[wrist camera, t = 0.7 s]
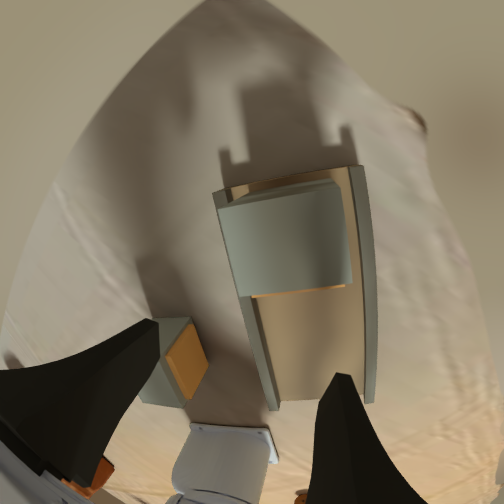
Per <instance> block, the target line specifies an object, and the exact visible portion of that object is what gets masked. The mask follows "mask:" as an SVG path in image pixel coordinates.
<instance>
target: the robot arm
mask: <svg viewBox="0 0 504 504" xmlns="http://www.w3.org/2000/svg"><path fill="white" fill-rule="evenodd" d="M159 359H160V340H159V323H158V322H155V321H153V320H150V319H147V318H145V319H143V320H141V321H140V322H138V323H136V324H134V325H132V326H131V327H129V328H127V329H125V330H124V331H122V332H120V333H118V334H117V335H115V336H113V337H111V338H109V339H107V340H105V341H103V342H102V343H100V344H97V345H95V346H93V347H91V348H89V349H87V350H85V351H83V352H80V353H78V354H75V355H73V356H70V357H67V358H64V359H61V360H58V361H54V362H50V363H47V364H43V365H39V366H33V367H28V368H21V369H10V370H0V504H68V503H69V504H94V503H93V502H91V501H89V500H88V499H86V498H85V497H83V496H81V495H80V494H78V493H77V492H75V491H74V490H72V489H71V488H69V487H68V486H67V485H65V484H64V483H62V482H61V480H62V479H65V480H66V481H67V482H69V483H70V482H71V481H73V482H75V483H76V484H78V485H79V486H81V487H82V488H88V487H91V485H92V481H93V479H94V476H95V473H96V470H97V468H98V465H99V463H100V460H101V458H102V456H103V453H104V451H105V449H106V447H107V445H108V443H109V441H110V438H111V436H112V434H113V433H114V431H115V429H116V427H117V425H118V423H119V421H120V419H121V418H122V416H123V415H124V413H125V412H126V410H127V409H128V407H129V406H130V404H131V403H132V402H133V400H134V399H135V397H136V396H137V395H138V393H139V392H140V390H141V389H142V388H143V386H144V385H145V383H146V382H147V380H148V379H149V378H150V376H151V374H152V372H153V370H154V369H155V367H156V365H157V363H158V361H159ZM189 426H190V428H191V432H190V434H189V436H188V438H187V440H186V442H185V444H184V446H183V448H182V450H181V452H180V454H179V456H178V458H177V460H176V462H175V464H174V467H173V471H172V485H173V487H174V489H175V491H176V492H177V493H178V494H176V495H173V496H171V497H170V498H169V499H168V500H167V502H166V503H165V504H259V500H260V496H261V492H262V488H263V484H264V480H265V476H266V472H267V467H268V464H277V463H279V459H278V456H277V453H276V450H275V447H274V444H273V441H272V438H271V435H270V431H269V430H268V429H266V428H245V427H229V426H216V425H206V424H197V423H190V425H189ZM305 504H428V503H427V502H426V501H424V500H423V499H422V498H421V497H420V496H419V495H418V494H417V493H416V491H415V490H414V489H413V488H412V487H411V486H410V485H409V484H408V482H407V481H406V480H405V479H404V477H403V476H402V475H401V473H400V472H399V471H398V470H397V468H396V467H395V465H394V464H393V462H392V461H391V459H390V458H389V456H388V454H387V453H386V451H385V449H384V448H383V446H382V444H381V442H380V441H379V439H378V437H377V435H376V433H375V431H374V429H373V427H372V424H371V422H370V420H369V418H368V416H367V413H366V411H365V409H364V406H363V404H362V402H361V399H360V397H359V394H358V392H357V389H356V386H355V384H354V381H353V379H352V376H351V375H349V374H344V373H338V372H336V373H335V375H334V377H333V379H332V380H331V382H330V384H329V386H328V387H327V389H326V391H325V393H324V394H323V396H322V398H321V399H320V401H319V404H318V410H317V415H316V422H315V433H314V450H313V464H312V474H311V480H310V485H309V489H308V494H307V498H306V502H305Z"/></svg>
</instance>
